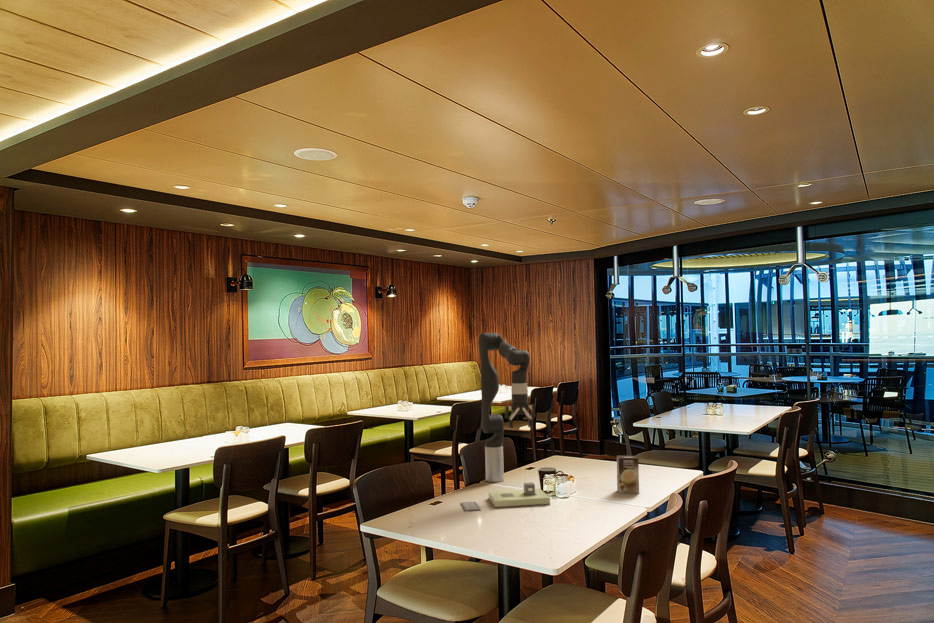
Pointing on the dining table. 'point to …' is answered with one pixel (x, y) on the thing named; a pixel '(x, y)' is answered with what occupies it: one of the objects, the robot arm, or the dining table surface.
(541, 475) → the coffee mug
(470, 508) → the phone
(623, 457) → the coffee box
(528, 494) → the block
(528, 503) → the outlet plate
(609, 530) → the dining table surface
